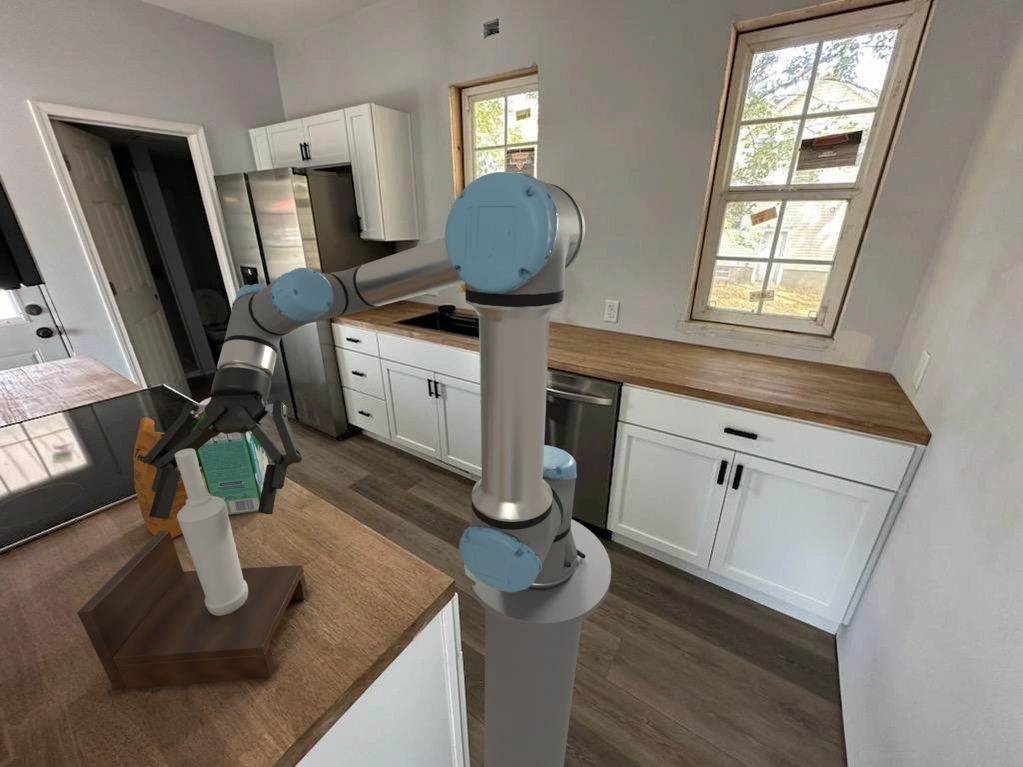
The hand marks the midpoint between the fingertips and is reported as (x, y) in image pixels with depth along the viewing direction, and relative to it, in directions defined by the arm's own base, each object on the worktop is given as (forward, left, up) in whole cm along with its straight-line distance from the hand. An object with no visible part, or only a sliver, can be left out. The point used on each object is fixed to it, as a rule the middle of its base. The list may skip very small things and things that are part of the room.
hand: (212, 515), depth 56 cm
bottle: (0, +1, -14) cm, 14 cm away
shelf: (+1, +2, -20) cm, 20 cm away
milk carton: (+14, -31, -20) cm, 40 cm away
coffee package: (+24, -25, -20) cm, 40 cm away
